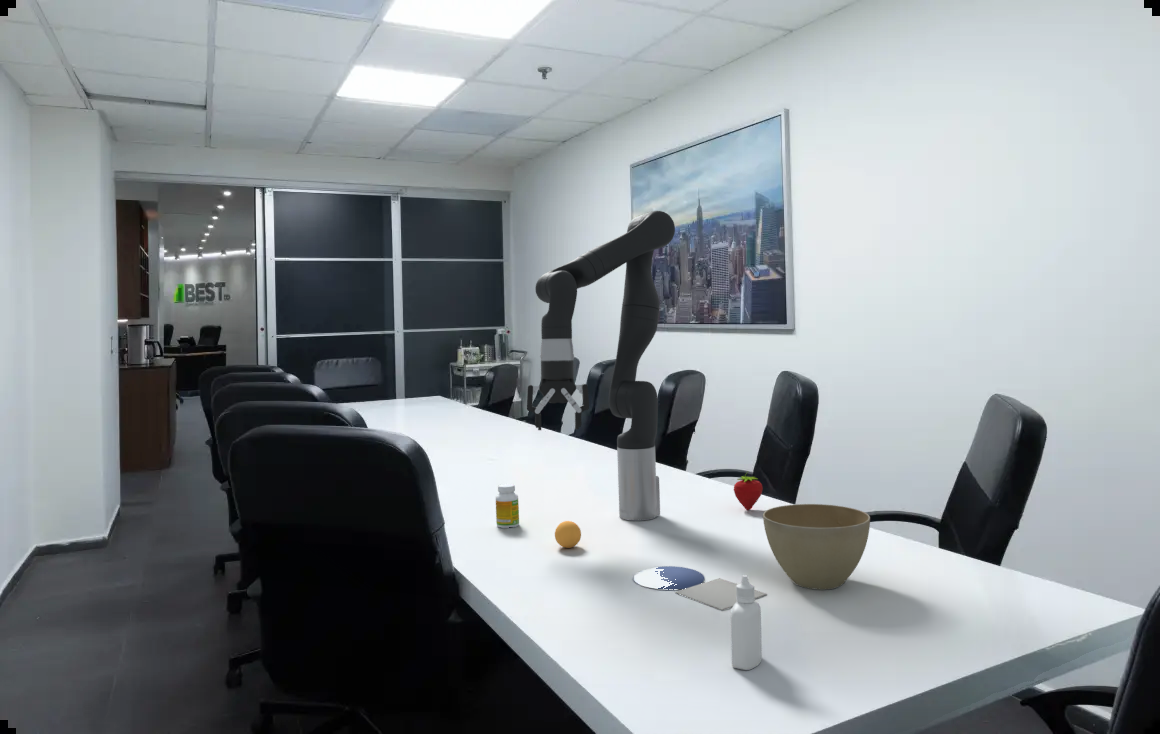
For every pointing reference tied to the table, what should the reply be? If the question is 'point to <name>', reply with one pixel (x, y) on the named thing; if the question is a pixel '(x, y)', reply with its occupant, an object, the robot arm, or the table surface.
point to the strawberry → (748, 491)
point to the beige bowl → (817, 542)
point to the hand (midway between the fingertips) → (558, 429)
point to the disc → (680, 577)
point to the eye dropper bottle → (746, 628)
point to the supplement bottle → (507, 506)
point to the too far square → (715, 593)
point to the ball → (567, 534)
